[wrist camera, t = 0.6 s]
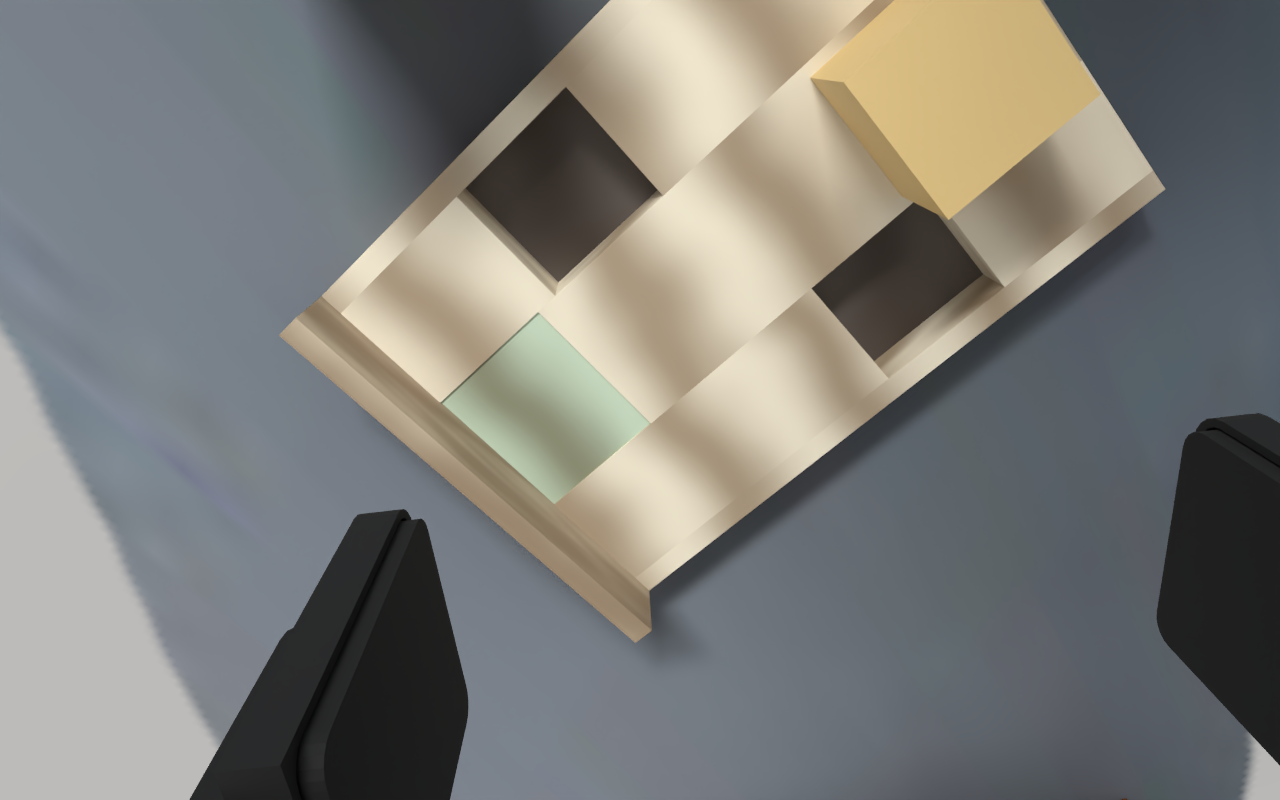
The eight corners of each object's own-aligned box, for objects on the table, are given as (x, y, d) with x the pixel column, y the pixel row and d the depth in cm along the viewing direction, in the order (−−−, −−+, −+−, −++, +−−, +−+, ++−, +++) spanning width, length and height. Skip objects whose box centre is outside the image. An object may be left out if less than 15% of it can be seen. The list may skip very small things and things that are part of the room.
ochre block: (941, -44, 30) (1000, -61, 25) (1030, 87, 32) (1100, 94, 27) (810, 78, 31) (843, 82, 27) (902, 196, 33) (948, 219, 29)
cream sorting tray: (851, -243, 30) (900, -303, 25) (1129, 180, 36) (1214, 201, 31) (325, 295, 37) (278, 335, 32) (632, 572, 43) (635, 642, 38)
